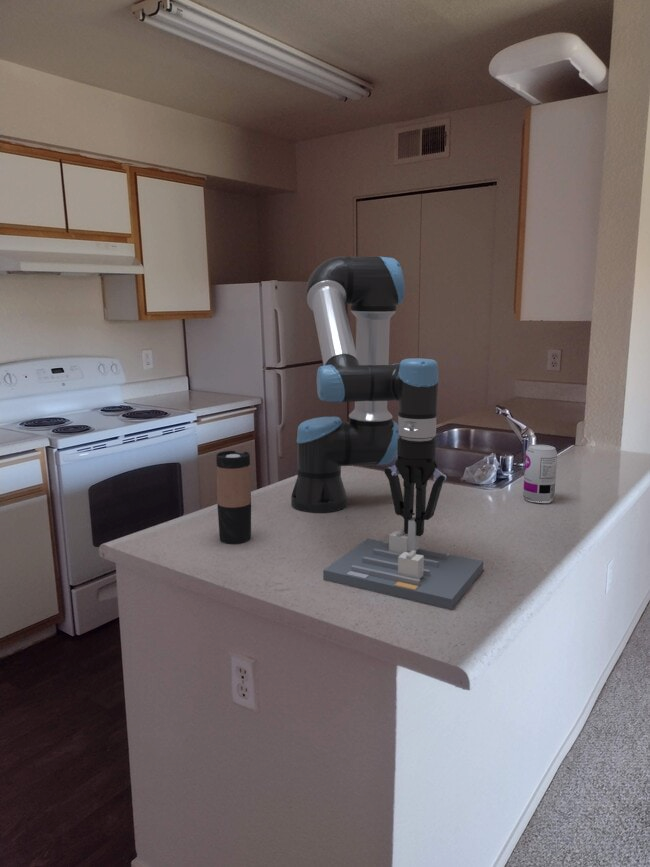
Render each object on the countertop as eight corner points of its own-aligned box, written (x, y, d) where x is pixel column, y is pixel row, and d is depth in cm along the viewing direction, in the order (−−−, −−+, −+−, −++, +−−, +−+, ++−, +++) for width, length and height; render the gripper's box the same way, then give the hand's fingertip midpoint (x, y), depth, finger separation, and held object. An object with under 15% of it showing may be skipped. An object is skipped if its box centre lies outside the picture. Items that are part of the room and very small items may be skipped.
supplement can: (521, 502, 176) (524, 449, 173) (524, 494, 184) (527, 443, 181) (553, 506, 173) (556, 451, 170) (554, 497, 181) (558, 445, 178)
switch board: (323, 579, 127) (323, 565, 126) (367, 547, 144) (367, 534, 143) (451, 609, 114) (452, 593, 114) (483, 570, 131) (483, 556, 131)
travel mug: (224, 546, 144) (222, 459, 140) (214, 536, 151) (211, 452, 147) (256, 541, 147) (255, 455, 143) (245, 530, 154) (243, 449, 150)
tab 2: (397, 576, 122) (398, 554, 122) (403, 571, 125) (404, 548, 124) (417, 581, 120) (418, 557, 120) (423, 575, 123) (424, 552, 122)
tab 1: (388, 553, 134) (389, 532, 133) (394, 548, 137) (395, 528, 136) (406, 557, 132) (407, 535, 131) (412, 552, 135) (412, 531, 134)
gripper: (378, 437, 128) (376, 549, 133) (442, 444, 122) (437, 561, 127) (393, 430, 134) (391, 538, 139) (454, 437, 128) (449, 549, 133)
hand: (413, 549), depth 133 cm, fingers closed
